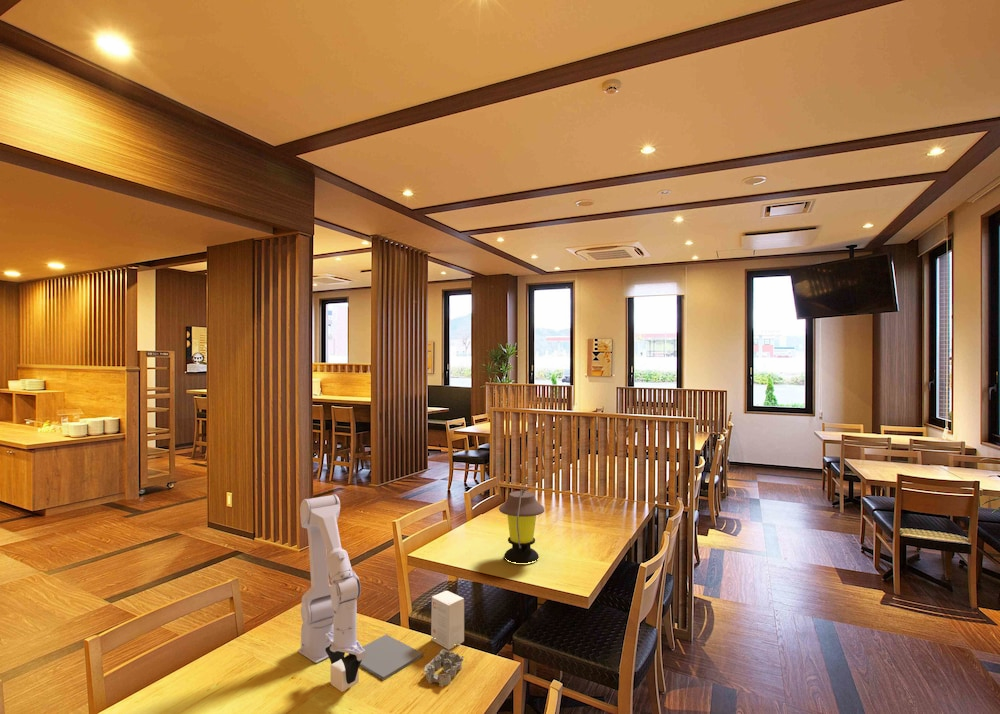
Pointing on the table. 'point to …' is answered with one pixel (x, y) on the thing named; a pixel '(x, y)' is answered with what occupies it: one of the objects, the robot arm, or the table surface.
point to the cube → (341, 676)
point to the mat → (388, 656)
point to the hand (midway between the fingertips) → (344, 677)
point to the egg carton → (449, 667)
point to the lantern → (521, 525)
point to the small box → (447, 619)
